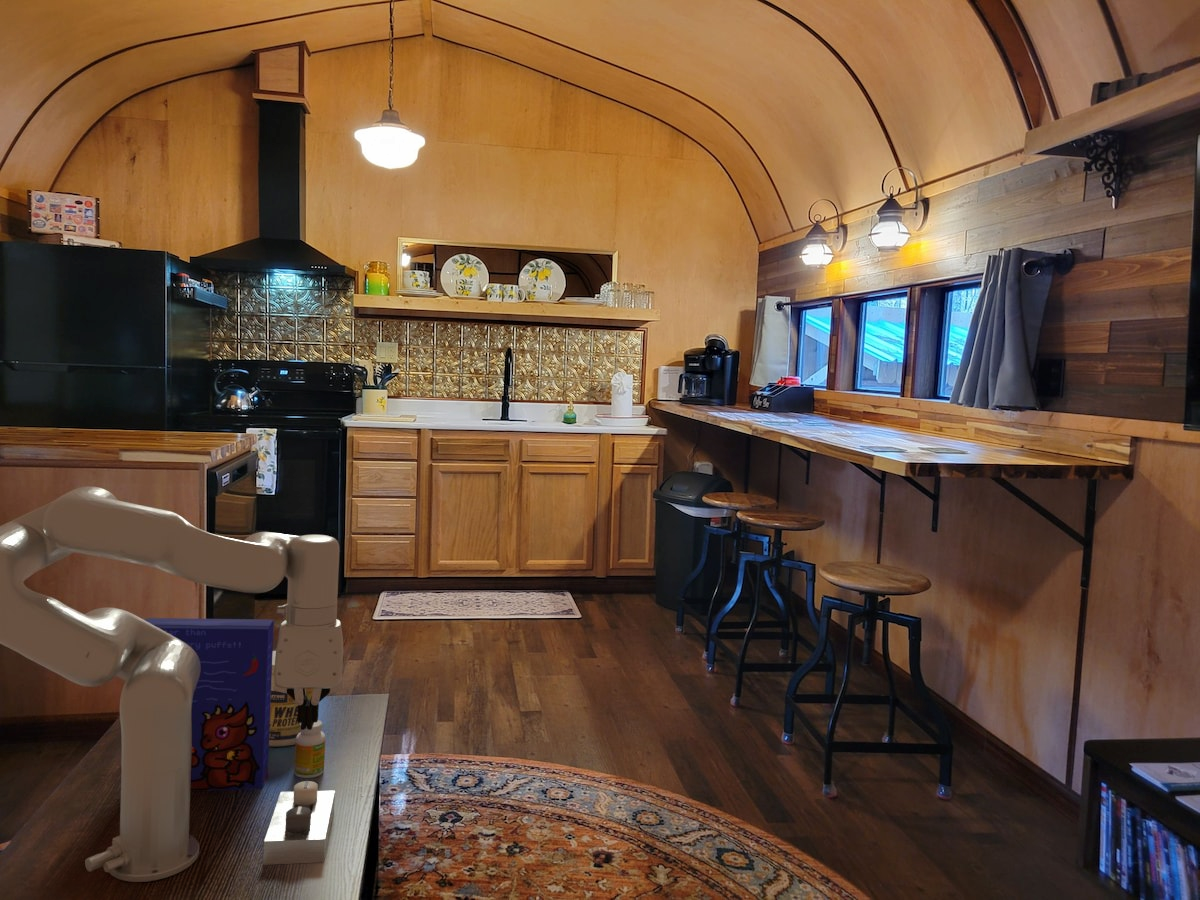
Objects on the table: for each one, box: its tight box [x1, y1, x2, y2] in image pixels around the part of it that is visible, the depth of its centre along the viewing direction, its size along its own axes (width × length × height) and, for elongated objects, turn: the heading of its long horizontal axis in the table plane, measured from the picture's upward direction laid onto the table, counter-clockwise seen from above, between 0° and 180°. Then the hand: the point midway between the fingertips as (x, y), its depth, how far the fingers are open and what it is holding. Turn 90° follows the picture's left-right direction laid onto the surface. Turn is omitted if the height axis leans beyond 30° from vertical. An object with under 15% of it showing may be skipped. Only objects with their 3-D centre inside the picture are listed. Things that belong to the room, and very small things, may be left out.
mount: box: [262, 790, 336, 866], centre depth 143 cm, size 16×9×4 cm, turn 11°
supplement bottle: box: [293, 719, 326, 779], centre depth 165 cm, size 5×5×10 cm
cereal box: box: [144, 617, 275, 792], centre depth 158 cm, size 22×6×30 cm, turn 101°
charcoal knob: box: [285, 807, 311, 836], centre depth 139 cm, size 4×4×6 cm
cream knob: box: [293, 780, 319, 809], centre depth 148 cm, size 4×4×6 cm
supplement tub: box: [269, 650, 314, 748], centre depth 180 cm, size 12×12×17 cm
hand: (307, 726), depth 139 cm, fingers closed
